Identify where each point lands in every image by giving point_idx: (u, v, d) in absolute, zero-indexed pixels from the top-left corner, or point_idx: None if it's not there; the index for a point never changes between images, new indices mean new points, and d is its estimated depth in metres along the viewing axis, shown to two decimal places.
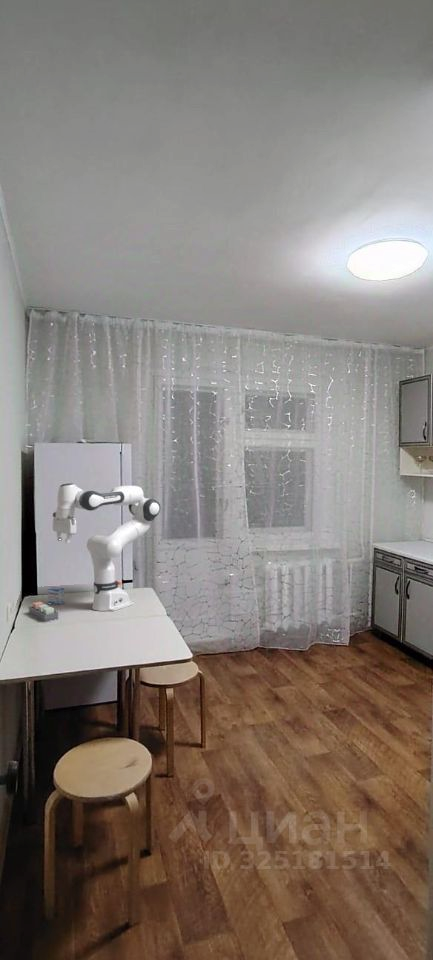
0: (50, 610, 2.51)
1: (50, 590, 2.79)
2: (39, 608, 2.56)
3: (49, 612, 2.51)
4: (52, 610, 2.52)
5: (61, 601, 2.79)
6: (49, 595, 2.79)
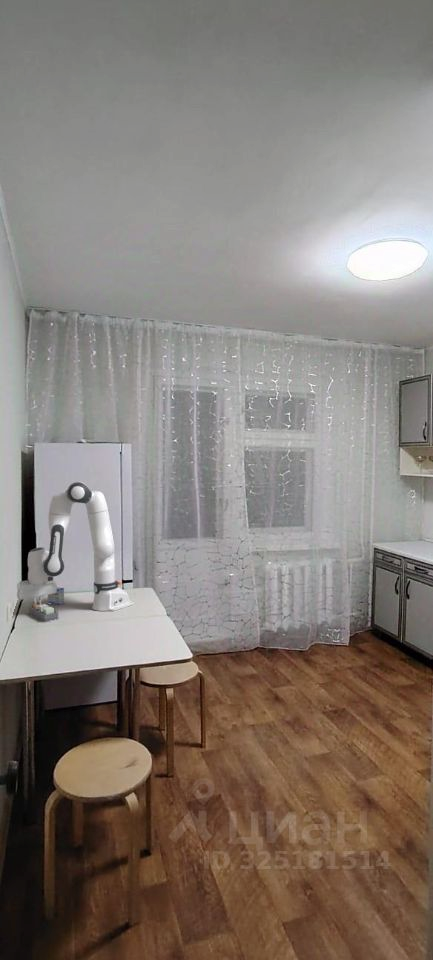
0: (50, 610, 2.51)
1: None
2: (39, 608, 2.56)
3: (49, 612, 2.51)
4: (52, 610, 2.52)
5: (61, 601, 2.79)
6: (49, 595, 2.79)
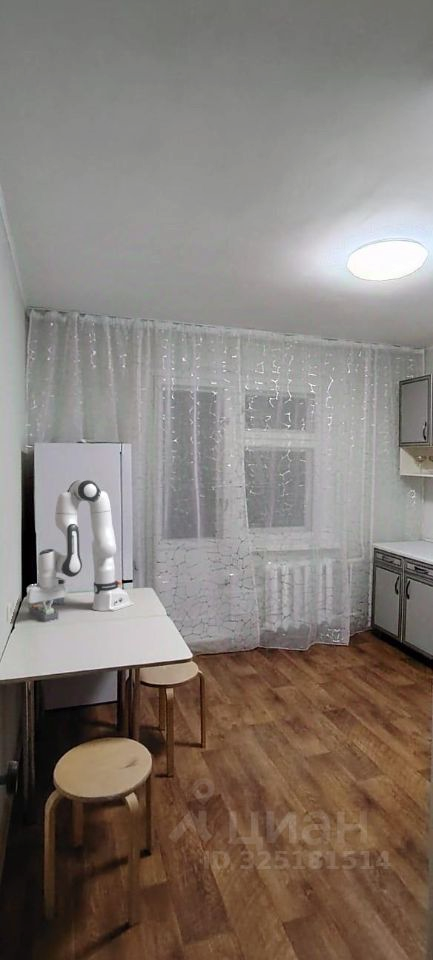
0: (50, 611, 2.51)
1: None
2: (39, 608, 2.56)
3: (49, 613, 2.51)
4: (52, 611, 2.52)
5: (61, 601, 2.79)
6: None
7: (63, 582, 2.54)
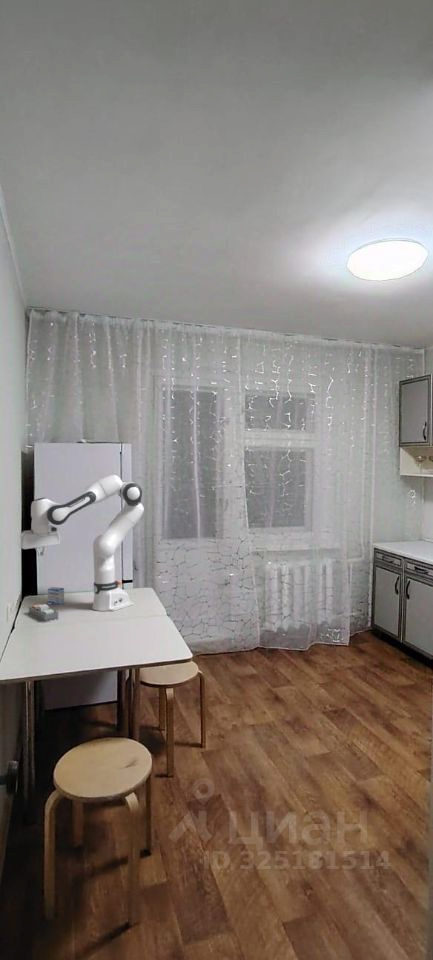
0: (50, 613, 2.51)
1: (50, 590, 2.79)
2: (39, 608, 2.56)
3: None
4: None
5: (61, 601, 2.79)
6: (49, 595, 2.79)
7: (56, 530, 2.61)
